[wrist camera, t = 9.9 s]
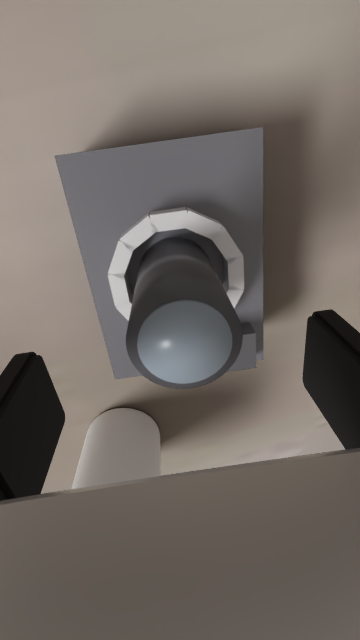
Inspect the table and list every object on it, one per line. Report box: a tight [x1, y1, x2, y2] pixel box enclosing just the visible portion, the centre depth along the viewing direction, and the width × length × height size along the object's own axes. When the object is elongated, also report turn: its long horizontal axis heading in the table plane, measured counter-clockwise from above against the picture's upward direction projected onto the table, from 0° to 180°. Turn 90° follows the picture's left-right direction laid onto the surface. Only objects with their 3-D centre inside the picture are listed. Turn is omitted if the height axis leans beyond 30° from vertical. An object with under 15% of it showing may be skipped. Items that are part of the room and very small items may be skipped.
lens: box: [126, 237, 243, 389], centre depth 17 cm, size 5×5×9 cm
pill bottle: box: [72, 408, 160, 489], centre depth 28 cm, size 8×8×15 cm
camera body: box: [55, 127, 263, 379], centre depth 23 cm, size 16×12×7 cm
